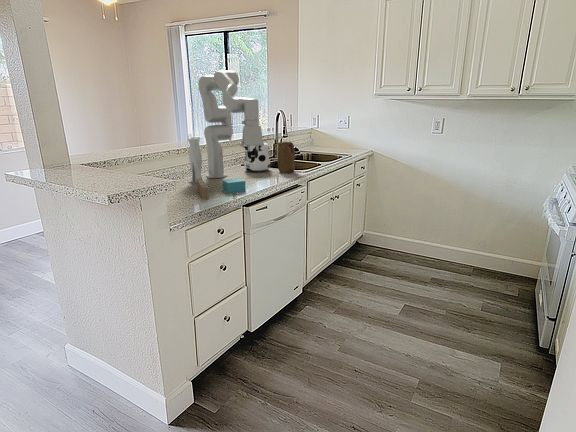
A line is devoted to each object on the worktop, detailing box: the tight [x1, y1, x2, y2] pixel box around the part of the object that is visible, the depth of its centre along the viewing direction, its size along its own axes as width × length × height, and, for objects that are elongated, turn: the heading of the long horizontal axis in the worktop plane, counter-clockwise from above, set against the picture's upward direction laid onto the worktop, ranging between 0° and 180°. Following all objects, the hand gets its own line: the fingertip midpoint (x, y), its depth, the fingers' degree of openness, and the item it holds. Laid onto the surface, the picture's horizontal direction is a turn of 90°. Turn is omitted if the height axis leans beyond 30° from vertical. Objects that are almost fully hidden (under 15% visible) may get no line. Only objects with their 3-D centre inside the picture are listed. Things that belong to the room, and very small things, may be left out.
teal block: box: [222, 177, 247, 194], centre depth 205 cm, size 8×10×6 cm
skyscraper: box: [187, 133, 204, 185], centre depth 221 cm, size 8×8×28 cm
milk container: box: [244, 142, 271, 173], centre depth 255 cm, size 17×17×18 cm
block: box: [277, 141, 296, 174], centre depth 250 cm, size 11×8×20 cm
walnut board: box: [196, 178, 210, 200], centre depth 199 cm, size 20×3×6 cm, turn 21°
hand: (252, 157), depth 204 cm, fingers open, 2 cm apart
